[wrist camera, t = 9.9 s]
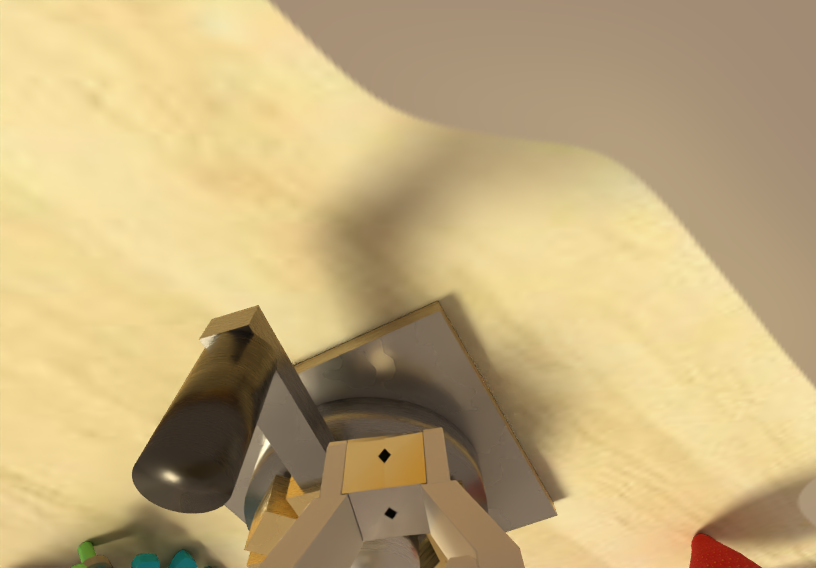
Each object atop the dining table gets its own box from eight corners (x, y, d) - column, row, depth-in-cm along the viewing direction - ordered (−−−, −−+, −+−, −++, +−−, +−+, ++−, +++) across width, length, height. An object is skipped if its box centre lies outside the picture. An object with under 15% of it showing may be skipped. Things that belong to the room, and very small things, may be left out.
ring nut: (375, 265, 15) (364, 395, 10) (493, 558, 24) (522, 714, 19) (110, 346, 17) (-29, 499, 11) (312, 596, 25) (289, 752, 20)
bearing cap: (553, 502, 27) (591, 616, 22) (325, 578, 30) (311, 692, 25) (437, 301, 20) (453, 396, 15) (156, 427, 23) (87, 543, 18)
